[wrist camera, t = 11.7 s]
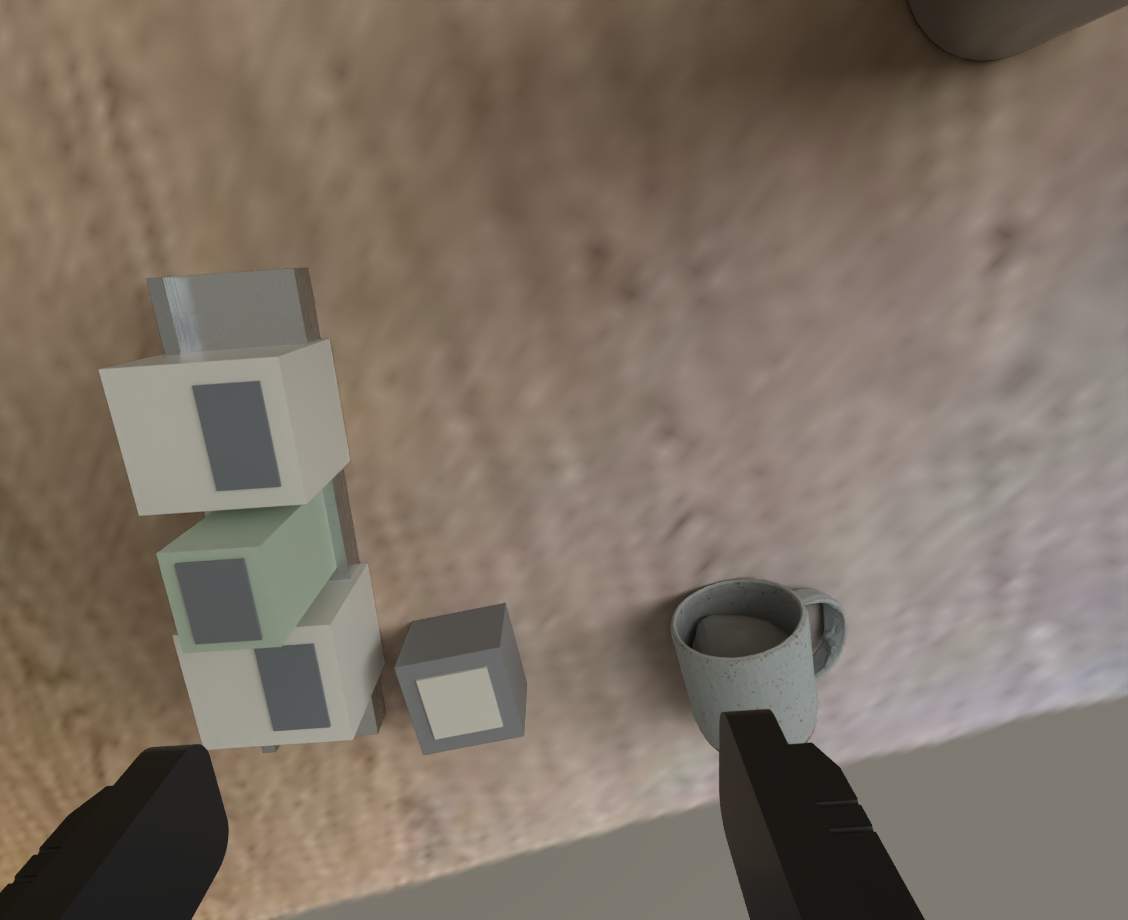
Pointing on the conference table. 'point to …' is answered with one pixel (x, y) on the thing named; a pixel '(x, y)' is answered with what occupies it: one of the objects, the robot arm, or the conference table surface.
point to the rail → (245, 320)
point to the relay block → (463, 679)
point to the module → (247, 575)
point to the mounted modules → (251, 480)
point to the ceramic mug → (755, 653)
